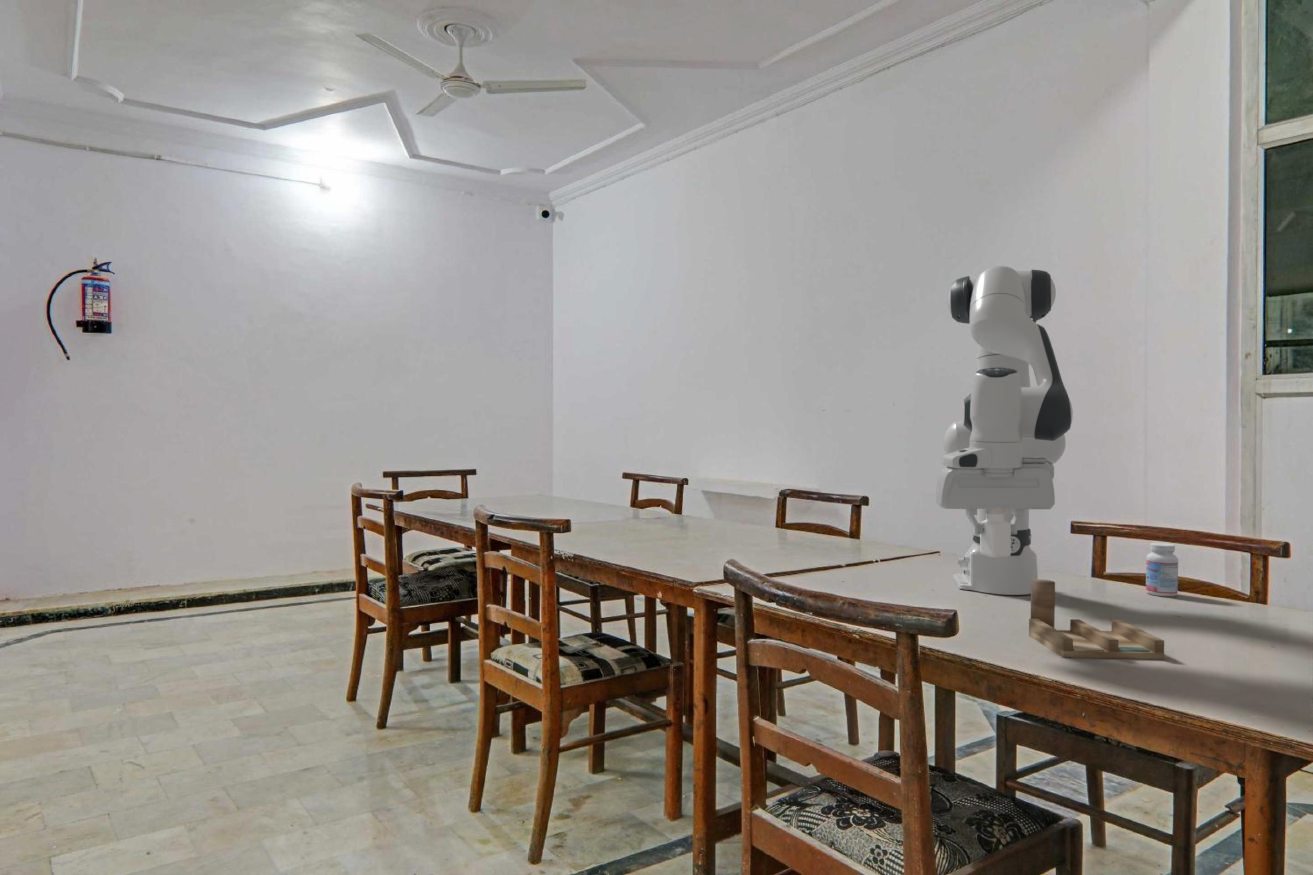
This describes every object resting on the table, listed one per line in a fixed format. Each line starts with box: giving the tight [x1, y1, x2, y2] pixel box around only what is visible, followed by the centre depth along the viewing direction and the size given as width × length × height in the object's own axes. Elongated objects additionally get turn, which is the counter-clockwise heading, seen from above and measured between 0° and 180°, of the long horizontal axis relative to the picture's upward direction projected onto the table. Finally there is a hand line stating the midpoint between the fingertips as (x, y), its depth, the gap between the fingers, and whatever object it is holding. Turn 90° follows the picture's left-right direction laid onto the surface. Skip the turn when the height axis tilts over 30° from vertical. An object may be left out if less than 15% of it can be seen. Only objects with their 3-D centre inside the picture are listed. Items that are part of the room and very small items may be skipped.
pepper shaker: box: [980, 507, 1011, 558], centre depth 151 cm, size 4×4×10 cm
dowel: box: [1030, 578, 1056, 629], centre depth 154 cm, size 4×4×9 cm
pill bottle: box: [1145, 542, 1179, 598], centre depth 187 cm, size 6×6×11 cm
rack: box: [1028, 618, 1165, 660], centre depth 143 cm, size 14×16×3 cm
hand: (994, 533), depth 152 cm, fingers closed on pepper shaker, 5 cm apart
